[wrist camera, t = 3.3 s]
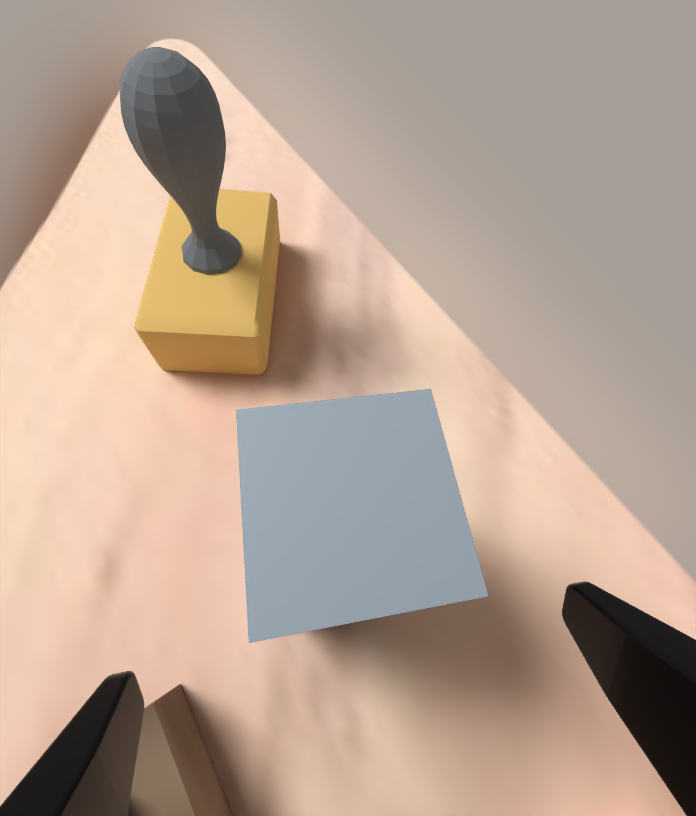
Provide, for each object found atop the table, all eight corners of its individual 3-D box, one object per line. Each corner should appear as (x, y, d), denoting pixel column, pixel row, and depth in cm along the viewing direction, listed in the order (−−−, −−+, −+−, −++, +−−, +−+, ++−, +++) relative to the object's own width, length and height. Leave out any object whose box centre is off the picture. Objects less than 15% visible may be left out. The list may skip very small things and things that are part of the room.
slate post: (386, 593, 18) (488, 596, 8) (283, 613, 17) (248, 642, 7) (367, 493, 19) (431, 388, 9) (274, 506, 19) (236, 410, 9)
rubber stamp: (267, 376, 22) (227, 160, 11) (157, 371, 21) (-1, 140, 10) (280, 242, 26) (261, -11, 15) (189, 235, 25) (100, -31, 15)
